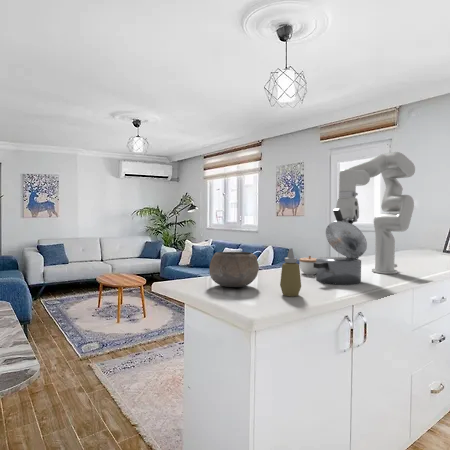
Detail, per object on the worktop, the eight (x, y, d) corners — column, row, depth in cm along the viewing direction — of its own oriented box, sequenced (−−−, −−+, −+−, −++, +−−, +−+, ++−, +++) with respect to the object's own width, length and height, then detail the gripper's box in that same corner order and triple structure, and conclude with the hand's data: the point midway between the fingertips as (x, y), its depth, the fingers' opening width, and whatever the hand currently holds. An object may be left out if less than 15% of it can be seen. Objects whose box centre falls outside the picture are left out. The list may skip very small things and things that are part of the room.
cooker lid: (334, 257, 182) (337, 253, 184) (371, 261, 166) (374, 257, 167) (316, 211, 173) (319, 207, 174) (354, 211, 156) (357, 207, 158)
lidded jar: (320, 275, 181) (321, 257, 181) (299, 275, 183) (299, 256, 183) (319, 272, 192) (319, 255, 191) (299, 271, 194) (299, 254, 194)
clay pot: (202, 284, 159) (202, 250, 158) (244, 281, 167) (244, 248, 167) (220, 294, 139) (220, 255, 139) (267, 289, 148) (267, 253, 147)
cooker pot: (333, 275, 182) (333, 256, 181) (369, 281, 166) (370, 260, 165) (298, 281, 166) (298, 259, 166) (335, 288, 150) (335, 264, 150)
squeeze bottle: (277, 293, 142) (278, 247, 141) (297, 292, 142) (298, 247, 142) (282, 297, 134) (283, 249, 133) (303, 297, 134) (304, 249, 134)
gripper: (366, 195, 167) (365, 234, 167) (338, 196, 179) (337, 233, 179) (356, 194, 162) (355, 235, 163) (329, 195, 174) (328, 233, 174)
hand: (346, 234), depth 171 cm, fingers closed
